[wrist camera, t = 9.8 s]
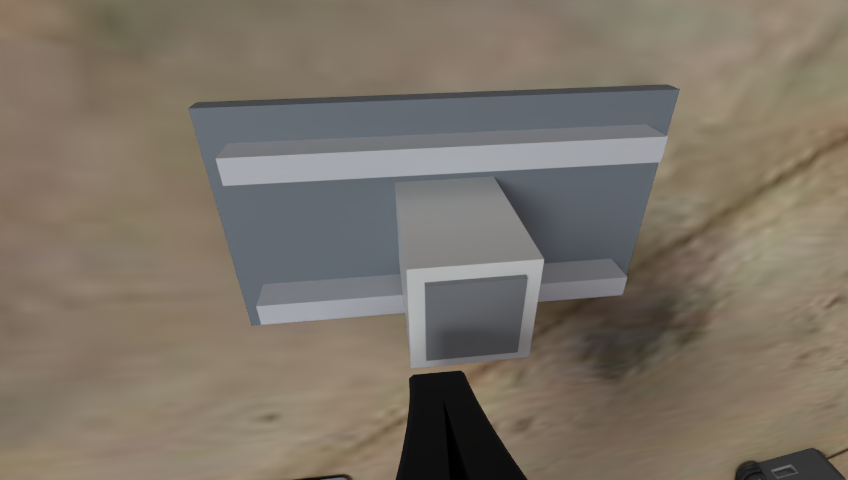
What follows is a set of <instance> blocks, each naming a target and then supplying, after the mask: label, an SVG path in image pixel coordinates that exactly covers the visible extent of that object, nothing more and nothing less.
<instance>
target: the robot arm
mask: <svg viewBox="0 0 848 480" xmlns="http://www.w3.org/2000/svg"><path fill="white" fill-rule="evenodd" d="M409 387H410V403H409V413H408V421H407V428H406V434H405V439H404V445H403V450H402V455H401V460H400V464H399V468H398V472H397V477H396V480H527V478H526V477H525V475H524V474H523V472H522V471H521V470H520V468H519V467H518V465H517V464H516V463H515V461H514V460H513V458H512V457H511V455H510V454H509V452H508V451H507V449H506V448H505V446H504V444H503V443H502V441H501V440H500V438H499V437H498V435H497V433H496V432H495V430H494V429H493V427H492V425H491V424H490V422H489V420H488V419H487V417H486V415H485V414H484V412H483V410H482V408H481V406H480V405H479V403H478V401H477V399H476V397H475V395H474V393H473V391H472V389H471V387H470V385H469V383H468V381H467V379H466V376H465V374H464V373H463V372H462V371H450V372H439V373H429V374H418V375H413V376H412V377H410V378H409ZM322 480H347V479H346V478H343V477H340V478H331V479H322Z"/></svg>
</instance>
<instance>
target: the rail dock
mask: <svg viewBox="0 0 848 480" xmlns="http://www.w3.org/2000/svg"><path fill="white" fill-rule="evenodd" d="M679 90H680V89H677V88H675V87H672V86H670V85H647V86H620V87H594V88H568V89H541V90H515V91H489V92H463V93H436V94H410V95H384V96H357V97H331V98H305V99H278V100H252V101H226V102H199V103H195V104H194V105H192V106H191V107H190V108H188V109H189V112H190V116H191V119H192V123H193V126H194V129H195V133H196V136H197V140H198V143H199V147H200V150H201V153H202V157H203V160H204V164H205V167H206V171H207V174H208V178H209V181H210V184H211V188H212V191H213V195H214V198H215V202H216V205H217V209H218V212H219V215H220V219H221V222H222V226H223V229H224V233H225V236H226V239H227V243H228V246H229V250H230V253H231V257H232V260H233V264H234V267H235V270H236V274H237V277H238V281H239V284H240V288H241V291H242V294H243V298H244V301H245V305H246V308H247V312H248V315H249V319H250V322H251V325H263V324H275V323H287V322H300V321H312V320H324V319H336V318H348V317H361V316H373V315H385V314H397V313H405V310H404V301H403V292H402V283H401V274H400V265H399V247H398V228H397V210H396V191H395V182H410V181H427V180H444V179H461V178H478V177H494V178H495V180H496V181H497V183H498V185H499V186H500V188H501V189H502V191H503V193H504V194H505V196H506V198H507V199H508V201H509V202H510V204H511V206H512V207H513V209H514V211H515V212H516V214H517V215H518V217H519V219H520V220H521V222H522V224H523V225H524V227H525V228H526V230H527V232H528V233H529V235H530V237H531V238H532V240H533V242H534V243H535V245H536V246H537V248H538V250H539V251H540V253H541V255H542V256H543V258H544V264H543V271H542V277H541V283H540V290H539V296H538V302H544V301H556V300H568V299H580V298H592V297H605V296H617V295H622V294H623V291H624V288H625V284H626V281H627V276H626V275H627V271H628V268H629V264H630V261H631V257H632V254H633V250H634V247H635V244H636V240H637V237H638V233H639V230H640V226H641V223H642V219H643V216H644V212H645V209H646V205H647V202H648V198H649V195H650V191H651V188H652V184H653V181H654V177H655V174H656V170H657V167H658V163H659V162H661V160H662V156H663V153H664V149H665V146H666V142H667V139H668V136H667V132H668V128H669V125H670V121H671V118H672V114H673V111H674V107H675V104H676V100H677V97H678V93H679Z"/></svg>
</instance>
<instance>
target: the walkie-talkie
mask: <svg viewBox="0 0 848 480" xmlns="http://www.w3.org/2000/svg"><path fill="white" fill-rule="evenodd" d="M736 474H737V476H736V478H737V479H735V480H846V479H845V478H844V477H843V476H842V474H841V473H840V472H839V471H838V470H837V469H836V468H835V467H834V466H833V465H832V464H831V463H830V462H829V461H828V460H827V459H826V458H825V456H824V455H823V454H822V453H821V452H820V451H819V450H816V449H814V448H810V449H806V450H803V451H799V452H795V453H792V454H788V455H785V456H781V457H777V458H774V459H770V460H767V461H763V462H759V463H756V464H752V465H748V466H745V467H744V468H742V469H741V470H740V471H738V472H737V473H736Z"/></svg>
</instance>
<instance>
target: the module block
mask: <svg viewBox="0 0 848 480" xmlns="http://www.w3.org/2000/svg"><path fill="white" fill-rule="evenodd" d="M395 191H396V210H397V228H398V247H399V265H400V274H401V283H402V292H403V301H404V310H405V319H406V328H407V337H408V347H409V356H410V365H411V368H422V367H432V366H442V365H453V364H463V363H474V362H484V361H494V360H505V359H515V358H526V357H529V354H530V347H531V341H532V335H533V328H534V322H535V315H536V309H537V303H538V296H539V290H540V283H541V277H542V271H543V264H544V258H543V256H542V255H541V253H540V251H539V250H538V248H537V246H536V245H535V243H534V242H533V240H532V238H531V237H530V235H529V233H528V232H527V230H526V228H525V227H524V225H523V224H522V222H521V220H520V219H519V217H518V215H517V214H516V212H515V211H514V209H513V207H512V206H511V204H510V202H509V201H508V199H507V198H506V196H505V194H504V193H503V191H502V189H501V188H500V186H499V185H498V183H497V181H496V180H495V178H494V177H478V178H461V179H444V180H427V181H410V182H395Z"/></svg>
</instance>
